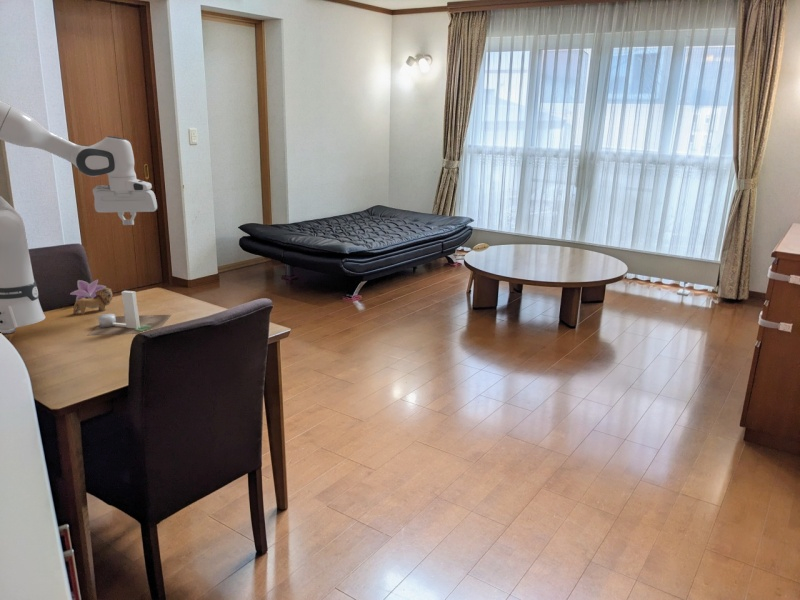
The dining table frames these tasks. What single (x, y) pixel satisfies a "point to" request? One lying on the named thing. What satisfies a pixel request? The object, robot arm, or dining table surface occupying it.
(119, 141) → the robot arm
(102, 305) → the lion figurine
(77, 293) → the lily
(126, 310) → the tuning peg
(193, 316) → the dining table surface
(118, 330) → the dial board
